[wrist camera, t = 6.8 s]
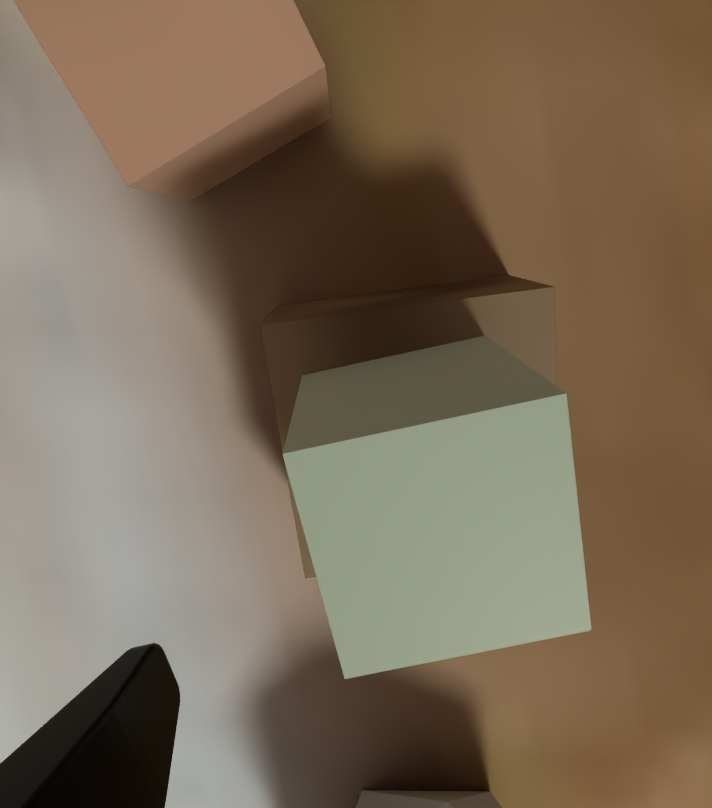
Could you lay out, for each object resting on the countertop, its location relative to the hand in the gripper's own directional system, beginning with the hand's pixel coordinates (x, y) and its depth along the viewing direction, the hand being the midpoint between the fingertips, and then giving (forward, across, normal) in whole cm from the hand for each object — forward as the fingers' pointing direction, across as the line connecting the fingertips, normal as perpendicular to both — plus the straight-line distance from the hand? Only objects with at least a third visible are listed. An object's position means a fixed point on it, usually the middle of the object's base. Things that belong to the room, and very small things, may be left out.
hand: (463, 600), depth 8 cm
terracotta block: (+10, +3, -10) cm, 14 cm away
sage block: (+6, 0, 0) cm, 6 cm away
